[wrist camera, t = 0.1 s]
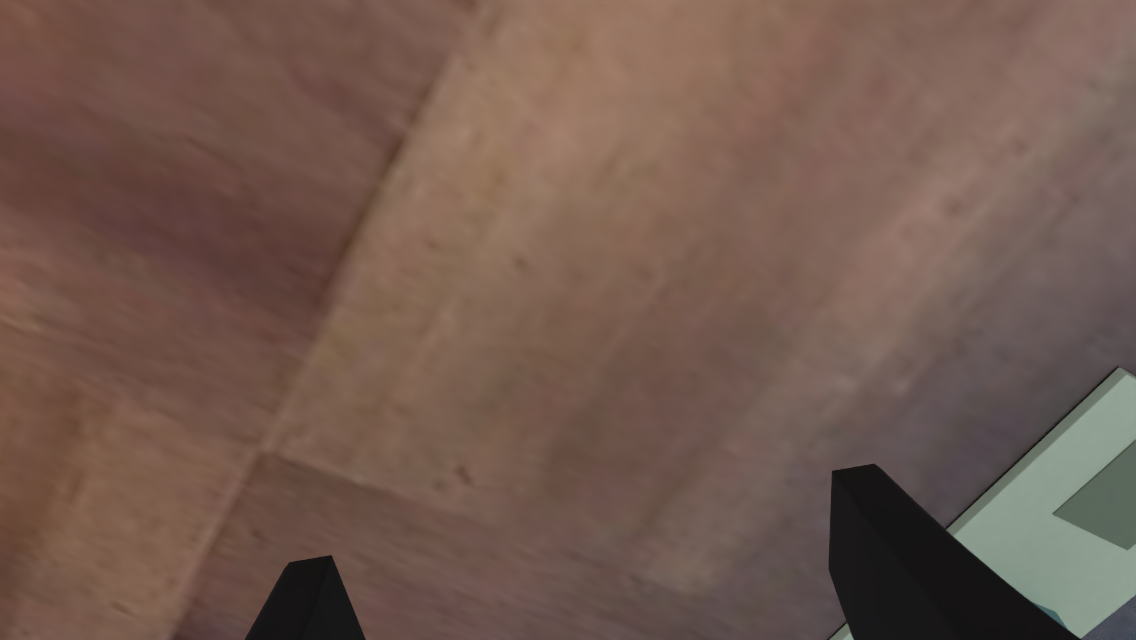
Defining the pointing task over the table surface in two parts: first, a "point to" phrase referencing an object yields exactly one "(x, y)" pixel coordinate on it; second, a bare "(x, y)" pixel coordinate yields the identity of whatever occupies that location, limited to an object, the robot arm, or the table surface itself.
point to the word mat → (1066, 513)
